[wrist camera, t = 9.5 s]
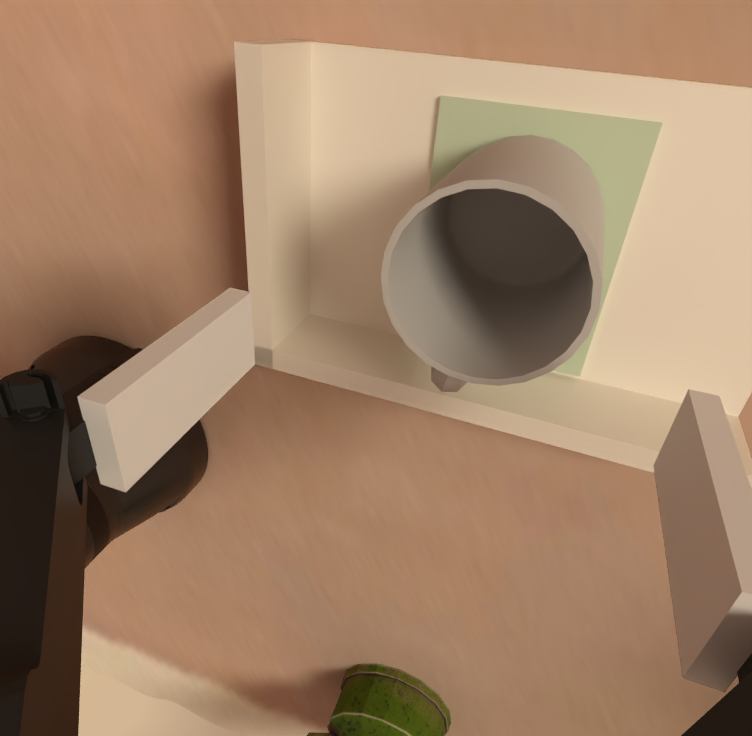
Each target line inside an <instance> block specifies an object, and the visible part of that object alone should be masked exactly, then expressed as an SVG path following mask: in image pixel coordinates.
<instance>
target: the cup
mask: <svg viewBox="0 0 752 736" xmlns="http://www.w3.org/2000/svg"><path fill="white" fill-rule="evenodd" d="M604 228H605V208H604V203H603V198H602V193H601V189H600V185H599V183H598V181H597V180H596V178H595V176H594V174H593V172H592V170H591V168H590V166H589V165H588V164H587V163H586V162H585V161H584V160H583V159H582V158H581V157H580V156H579V155H578V154H577V153H576V152H575V151H574V150H572V149H570V148H568V147H566V146H565V145H563V144H561V143H559V142H557V141H555V140H553V139H548V138H544V137H539V136H534V135H523V136H509V137H506V138H503V139H500V140H497V141H494V142H492V143H489V144H486V145H485V146H483V147H482V148H480V149H479V150H477V151H476V152H474V153H473V154H471V155H470V156H468V157H467V158H465V159H464V160H463V161H462V162H461V163H460V164H459V165H458V166H457V167H455V168H454V169H453V170H452V171H451V172H450V173H449V174H448V175H447V176H446V177H444V178H443V179H442V180H441V181H440V182H439V183H438V184H437V185H436V186H435V187H433V188H432V189H431V190H430V191H429V192H428V193H427V194H426V195H425V196H424V197H423V198H421V199H420V200H419V201H418V202H417V203H416V204H415V205H414V206H413V207H412V208H411V209H410V210H409V212H408V213H407V214H406V215H405V216H404V217H403V219H402V220H401V221H400V222H399V223H398V225H397V226H396V227H395V229H394V231H393V234H392V236H391V238H390V240H389V242H388V244H387V247H386V249H385V251H384V258H383V264H382V271H381V284H382V293H383V301H384V304H385V307H386V309H387V312H388V315H389V317H390V320H391V322H392V325H393V326H394V328H395V329H396V331H397V332H398V334H399V335H400V337H401V338H402V340H403V341H404V342H405V344H406V345H407V346H408V347H409V348H410V349H411V350H412V351H413V352H414V353H415V354H416V355H418V356H419V357H420V358H421V359H422V360H423V361H424V362H425V363H427V364H428V365H430V366H431V381H432V382H433V383H434V384H435V385H436V386H437V387H438V388H439V389H440V391H441V392H457V391H458V390H459V389H461V388H462V387H463V386H464V385H465V384H466V383H467V382H470V383H474V384H485V385H496V386H501V385H508V384H515V383H522V382H527V381H529V380H532V379H534V378H537V377H540V376H542V375H545V374H547V373H550V372H551V371H553V370H554V369H555V368H557V367H558V366H560V365H561V364H562V363H564V362H565V361H567V360H568V359H569V358H571V357H572V356H573V355H574V353H575V352H576V351H577V350H578V348H579V347H580V346H581V345H582V344H583V342H584V341H585V340H586V339H587V337H588V336H589V334H590V332H591V330H592V327H593V325H594V322H595V320H596V317H597V315H598V312H599V310H600V301H601V291H602V279H603V254H604Z"/></svg>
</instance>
